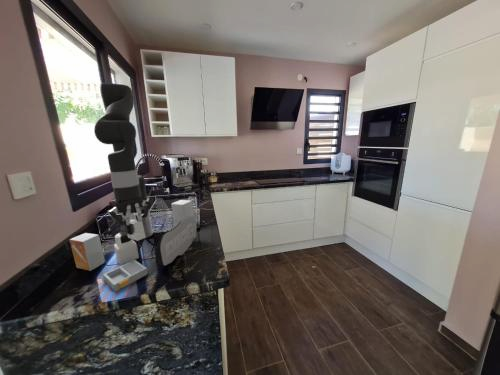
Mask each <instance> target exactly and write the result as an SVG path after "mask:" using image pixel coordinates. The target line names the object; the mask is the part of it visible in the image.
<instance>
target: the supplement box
mask: <svg viewBox="0 0 500 375" xmlns="http://www.w3.org/2000/svg"><path fill="white" fill-rule="evenodd" d="M170 207H171V213H172V218H173V226H174V227H173V228H175V227H176V226H177V225H178V223H179V222H181V221H182V220H184V219H185V218H186V217H188V216H193V217H194V220H195V211H194V202H193V200H188V199H180V200H177V201H174V202H172V203H171V206H170ZM195 221H196V220H195Z"/></svg>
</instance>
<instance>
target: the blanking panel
mask: <svg viewBox="0 0 500 375" xmlns="http://www.w3.org/2000/svg"><path fill="white" fill-rule="evenodd" d="M130 225H131V229H132V235H129V234H127V235H128V238H131V239H133V240H135V241H137V242H138V241H140V240H144V239H147V238H146V236H145V231H144V227H143V223H142V221H140V220H135V219H130ZM143 238H144V239H143Z"/></svg>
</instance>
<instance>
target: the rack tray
mask: <svg viewBox="0 0 500 375" xmlns="http://www.w3.org/2000/svg"><path fill="white" fill-rule="evenodd" d="M148 274H149V273H148V268H147V267H146V266H145V265H143V264H142V263H140V262H139V261H138V260H137V259H135V260H132V261H130V262H127V263H125V264H122V265H120V266H118V267H116V268H113V269H112V270H109V271H107V272H105V273H103V274H102V276H103V279H104V280H103V281H104V282H105V283H106V284H107V285H108V286H109V287H110V288H111V289H112V290H113V291H114V292H118V291H119V290H121V289H123V288H125V287H127V286H128V285H131V284H133V283H134V282H135V281H139V279H141V278H143V277H145V276H147V275H148Z"/></svg>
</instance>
